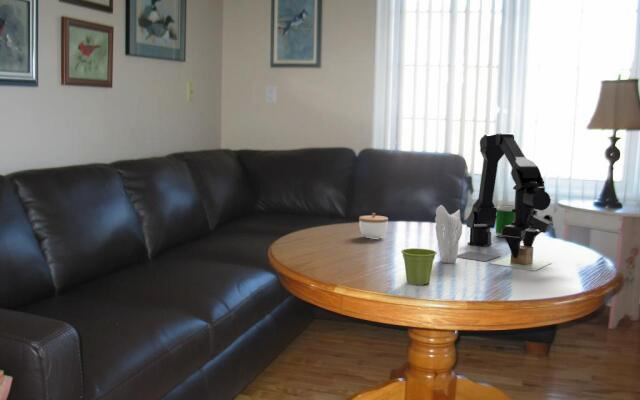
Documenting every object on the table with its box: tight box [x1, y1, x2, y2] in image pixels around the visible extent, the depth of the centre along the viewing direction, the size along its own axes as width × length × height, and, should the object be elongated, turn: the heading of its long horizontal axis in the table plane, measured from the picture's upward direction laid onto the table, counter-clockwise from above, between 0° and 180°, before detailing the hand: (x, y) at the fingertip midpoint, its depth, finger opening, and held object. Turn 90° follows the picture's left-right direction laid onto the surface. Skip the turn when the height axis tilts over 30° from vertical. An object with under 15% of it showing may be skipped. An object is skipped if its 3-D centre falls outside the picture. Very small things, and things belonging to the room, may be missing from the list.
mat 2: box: [490, 255, 553, 272], centre depth 206 cm, size 14×14×1 cm
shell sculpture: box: [434, 204, 463, 264], centre depth 205 cm, size 8×8×18 cm
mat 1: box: [457, 250, 501, 263], centre depth 215 cm, size 11×11×1 cm
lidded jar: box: [358, 212, 389, 238], centre depth 246 cm, size 11×11×9 cm
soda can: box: [495, 204, 515, 238], centre depth 252 cm, size 8×8×12 cm
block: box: [510, 244, 534, 265], centre depth 205 cm, size 5×5×5 cm
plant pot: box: [400, 247, 437, 286], centre depth 179 cm, size 9×9×9 cm
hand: (521, 255), depth 205 cm, fingers open, 9 cm apart
